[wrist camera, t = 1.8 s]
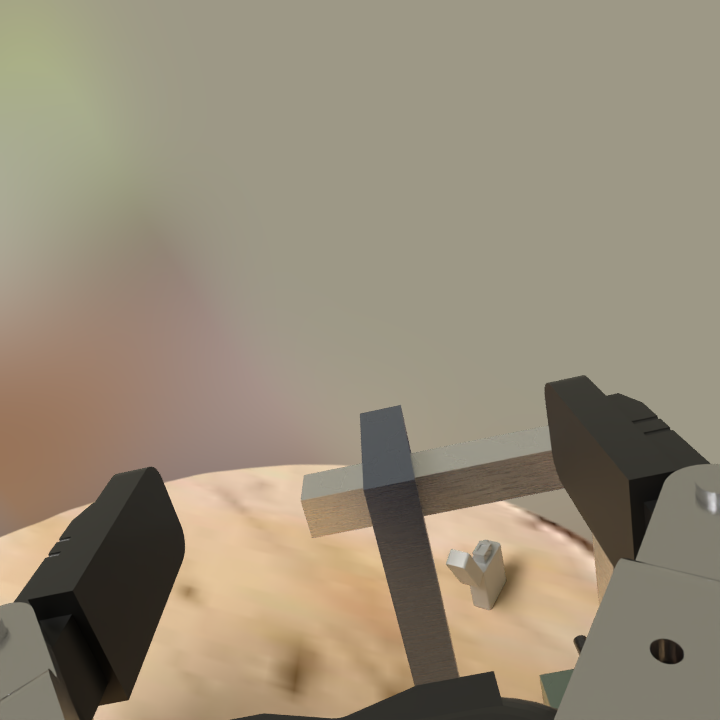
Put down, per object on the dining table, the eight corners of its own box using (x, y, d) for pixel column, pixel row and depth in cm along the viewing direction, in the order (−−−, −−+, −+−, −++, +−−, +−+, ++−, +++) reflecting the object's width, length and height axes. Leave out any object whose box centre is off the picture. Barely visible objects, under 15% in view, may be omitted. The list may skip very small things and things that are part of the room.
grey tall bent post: (793, 945, 29) (830, 476, 19) (430, 997, 31) (290, 580, 21) (645, 673, 44) (622, 328, 34) (404, 716, 45) (314, 394, 35)
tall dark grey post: (489, 815, 30) (414, 479, 22) (450, 821, 30) (363, 490, 22) (465, 700, 36) (400, 405, 28) (433, 705, 36) (360, 413, 28)
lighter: (490, 574, 57) (477, 507, 54) (507, 579, 56) (495, 510, 53) (459, 629, 52) (444, 558, 49) (477, 635, 51) (462, 562, 48)
